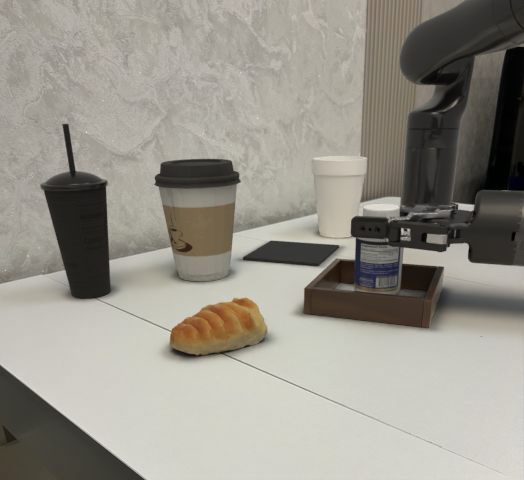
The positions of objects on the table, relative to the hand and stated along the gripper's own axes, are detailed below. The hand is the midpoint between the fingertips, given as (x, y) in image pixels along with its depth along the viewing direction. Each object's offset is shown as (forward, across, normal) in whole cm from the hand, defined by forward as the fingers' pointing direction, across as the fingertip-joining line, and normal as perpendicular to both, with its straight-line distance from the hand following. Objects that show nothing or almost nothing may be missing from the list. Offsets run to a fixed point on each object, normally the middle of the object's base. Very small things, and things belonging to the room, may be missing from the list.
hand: (358, 221), depth 62 cm
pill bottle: (-3, 0, +8) cm, 9 cm away
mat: (+14, -19, +9) cm, 25 cm away
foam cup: (+11, -35, +10) cm, 38 cm away
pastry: (+9, +17, +9) cm, 22 cm away
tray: (-3, 0, +9) cm, 10 cm away
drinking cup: (+32, +8, +9) cm, 35 cm away
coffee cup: (+22, -4, +9) cm, 25 cm away
